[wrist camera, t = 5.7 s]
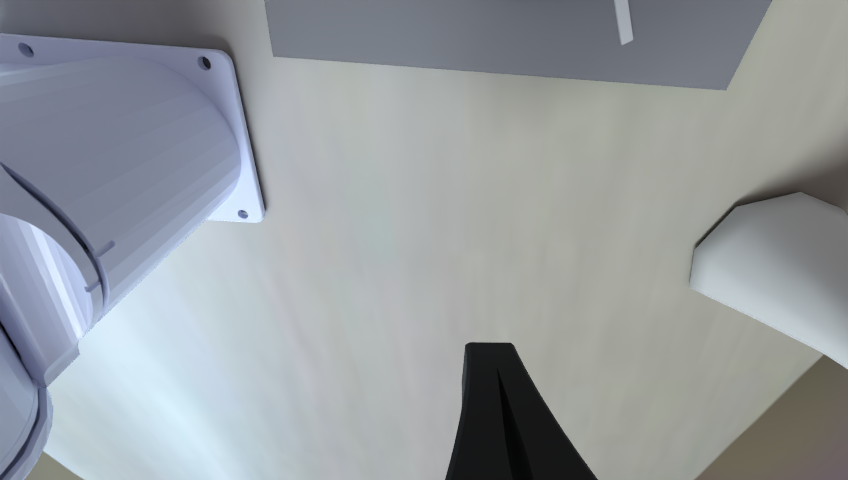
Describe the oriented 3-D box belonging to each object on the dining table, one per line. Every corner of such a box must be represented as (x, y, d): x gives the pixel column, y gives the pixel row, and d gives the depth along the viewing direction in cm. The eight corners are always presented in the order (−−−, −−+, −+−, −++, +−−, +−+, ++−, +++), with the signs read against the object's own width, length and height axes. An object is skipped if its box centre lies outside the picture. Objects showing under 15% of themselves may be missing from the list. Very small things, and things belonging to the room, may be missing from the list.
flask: (723, 187, 17) (989, 352, 9) (867, 190, 17) (1265, 358, 9) (665, 294, 22) (813, 476, 13) (782, 297, 21) (1004, 480, 13)
